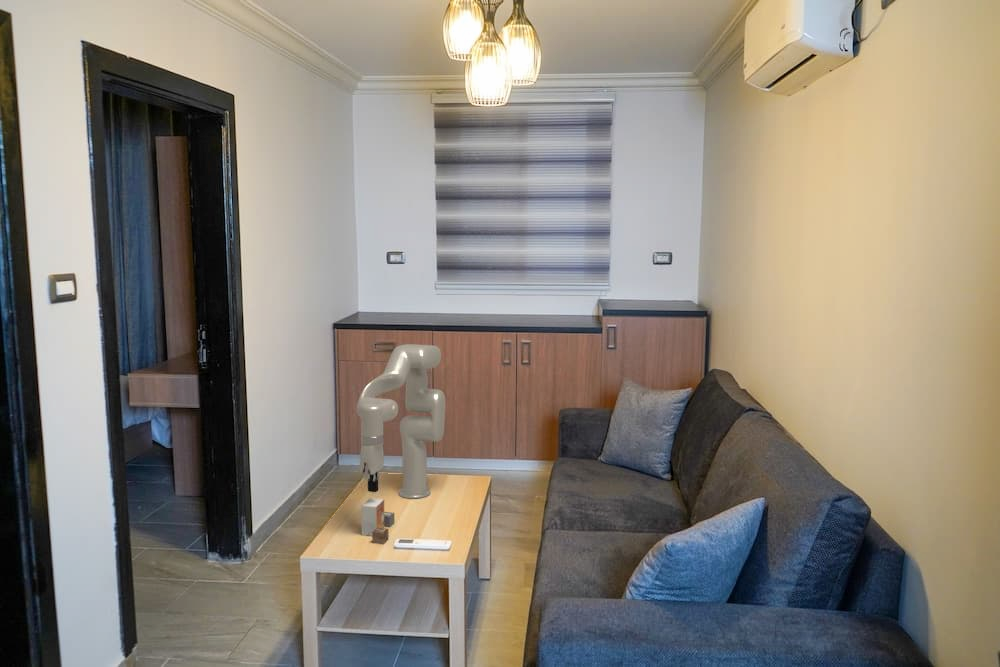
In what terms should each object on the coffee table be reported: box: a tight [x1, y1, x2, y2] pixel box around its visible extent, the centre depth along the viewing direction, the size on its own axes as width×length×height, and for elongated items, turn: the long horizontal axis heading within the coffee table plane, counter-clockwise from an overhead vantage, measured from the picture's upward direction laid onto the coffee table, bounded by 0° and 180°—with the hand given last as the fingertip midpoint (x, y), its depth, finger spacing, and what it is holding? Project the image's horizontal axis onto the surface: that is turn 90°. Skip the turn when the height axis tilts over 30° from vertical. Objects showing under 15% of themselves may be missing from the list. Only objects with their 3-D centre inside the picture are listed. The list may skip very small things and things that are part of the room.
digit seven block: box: [371, 527, 389, 545], centre depth 250 cm, size 4×4×4 cm
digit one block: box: [384, 511, 395, 529], centre depth 265 cm, size 4×4×4 cm
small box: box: [360, 497, 385, 537], centre depth 258 cm, size 8×6×10 cm
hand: (373, 491), depth 257 cm, fingers closed
